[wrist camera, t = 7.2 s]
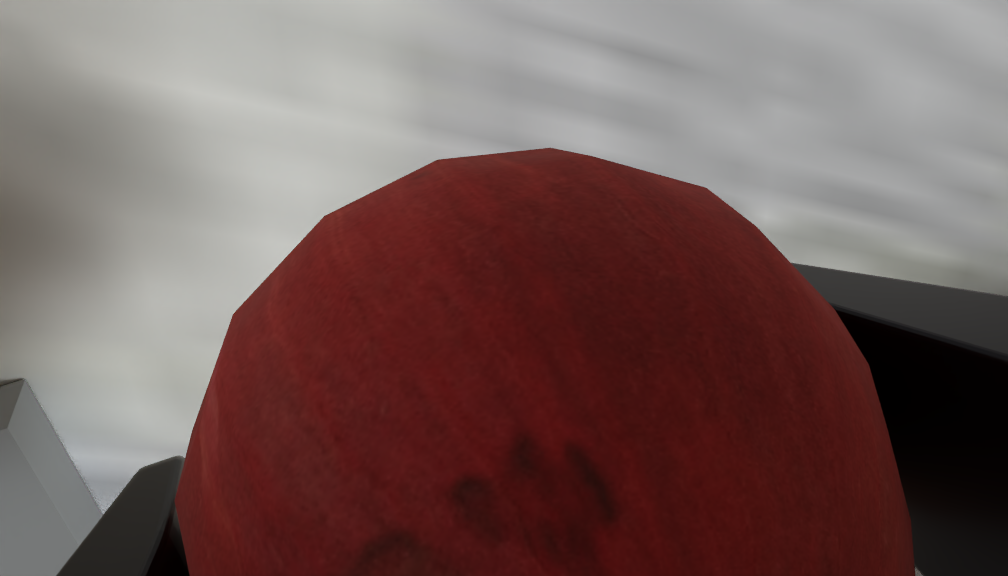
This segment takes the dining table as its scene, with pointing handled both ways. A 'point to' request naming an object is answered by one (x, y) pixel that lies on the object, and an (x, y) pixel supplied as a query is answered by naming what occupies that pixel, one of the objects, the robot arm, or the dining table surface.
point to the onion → (540, 393)
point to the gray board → (37, 490)
